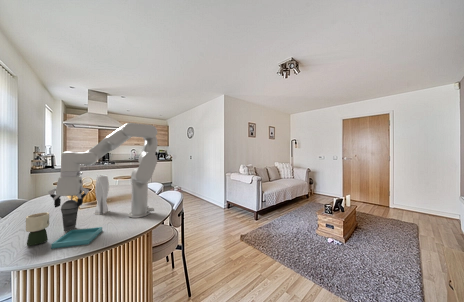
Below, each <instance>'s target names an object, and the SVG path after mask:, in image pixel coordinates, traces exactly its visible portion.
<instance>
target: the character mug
mask: <svg viewBox="0 0 464 302" xmlns="http://www.w3.org/2000/svg"><path fill="white" fill-rule="evenodd" d="M49 226H50V212H48V211H47V212H39V213H38V212H36V213H33V214H29V215H27V216H26V217H25V232H28V235H27V241H26V246H27V247H31V246H35V245H40V244H43V243H46V242H48V240H49V239H48V238H49V237H48V232H47V229H48V228H49Z"/></svg>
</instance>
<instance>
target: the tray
mask: <svg viewBox="0 0 464 302" xmlns="http://www.w3.org/2000/svg"><path fill="white" fill-rule="evenodd" d="M101 233H103V226H100V227H99V226H97V227H89V228H88V227H87V228H79V229H76V228H75V229H73V230H70V231H66V233H65V234H63V235H62V236H60V237H59V238H58V239H56V240H55V241H54V242H52V243H50V245H51V246H50V248H51V249H60V248H69V247H75V246H76V247H77V246H86V245H90V244H91V243H92V242H93V241H94V240H95V239H96V238H97V237H98V236H99V235H100V234H101Z"/></svg>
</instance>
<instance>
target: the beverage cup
mask: <svg viewBox="0 0 464 302" xmlns="http://www.w3.org/2000/svg"><path fill="white" fill-rule="evenodd" d="M73 197H74V196H70V200H66V201H65V202H62V205H60V206H61V207H60V212H61V215H62V216H61V218H62V226H63V231H65V232H69V231H70V230H76V226H77V220H78V211H79V208H80V206H77V200H75V199H73Z"/></svg>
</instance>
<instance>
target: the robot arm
mask: <svg viewBox="0 0 464 302" xmlns="http://www.w3.org/2000/svg"><path fill="white" fill-rule="evenodd" d="M157 136H158V130H157V127H156V126H155V125H152V124H147V123H146V124H145V123H136V122H135V123H134V122H127V123H125V124H123V125H122V126H120V127H119V128H117V129H116V130H114V131H113V132H112V133H110V134H108V135H107V136H106V137H104V138H103V139H102V140H101V141H99V142H98V143H97V144H95V145H94V146H93V147H91V148H89V149H88V150H86V151H84V152H78V151H64V152H61V155H60V156H61V161H60V177H58V178H57V182H56V188H54V189H52V190H49V191H48V194H49V196H50V197H51V198H52V200H53V201H54V202H53V206H54V208H58V207H60V206H61V202H62V201H61V199H62V198H61V197H71V196H73V197H77V200H76V201H77V206H79V207H80V206H82V205H83V203H84V201H83V199H84V198H85V197H86V196H87V195H88V193H89V192H90V189H88V188H85V187H84V186H83V185H84V183H83V178H82V176H81V175H83V172H81V166H82V165H84V166H93V165H95V164H96V163H97V162H98V161H99V159H102V157H104V156H105V155H106V154H108V153H110V152H112V151H115V150H116V149H117V148H119V147H120V146H122V145H123V144H124V143H126V142H127V141H128V140H130V139H131V138H135V137H136V138H143V140H144V142H143V146H142V148H141V152H140V154H139V157H138V160H137V161H138V163H139V165H138V167H136V168H134V169H133V170H132V171H131V174H130V178H131V179H130V180H131V201H130V202H131V208H130V210H131V211H130V212H129V214H128V217H129V218H132V219H136V218H144V217H146V216H148V215H150V214H151V212H155V207H149V205H148V195H149V194H148V193H149V191H148V189H149V185H148V183H149V182H150V181H151V179H152V177H153V175H154V172H155V170H156V166H157V164H158V157H157V154H156V151H157V148H158V144H159V142H158V138H157Z"/></svg>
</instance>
